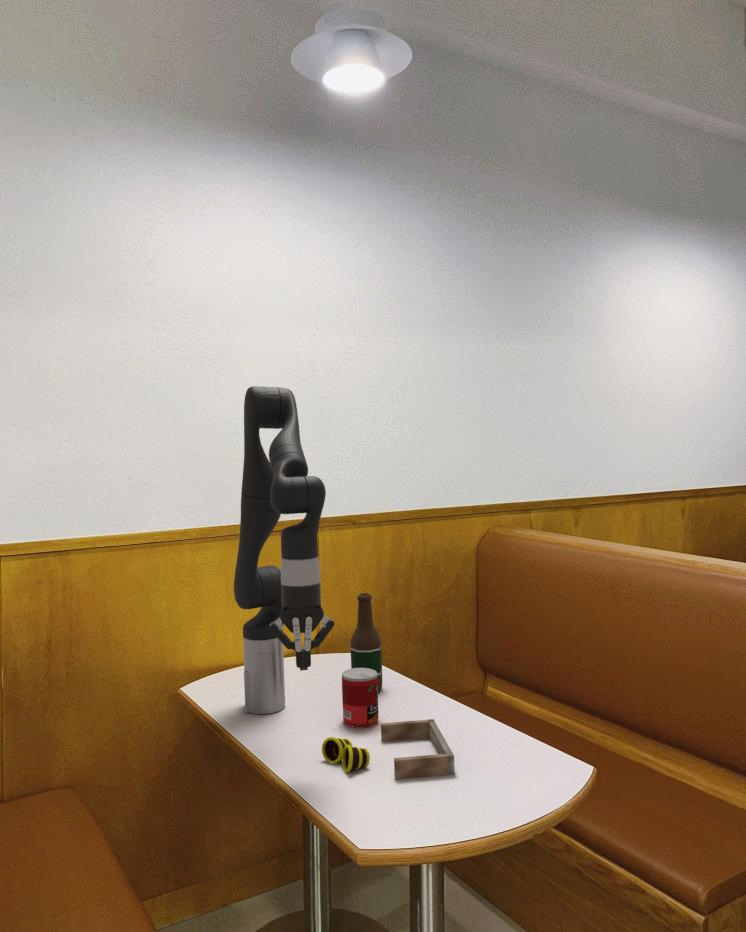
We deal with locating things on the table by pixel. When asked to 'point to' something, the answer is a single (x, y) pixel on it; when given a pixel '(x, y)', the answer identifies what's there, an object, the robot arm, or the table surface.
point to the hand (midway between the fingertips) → (303, 669)
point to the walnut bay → (419, 764)
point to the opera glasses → (345, 753)
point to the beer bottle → (366, 640)
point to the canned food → (360, 697)
